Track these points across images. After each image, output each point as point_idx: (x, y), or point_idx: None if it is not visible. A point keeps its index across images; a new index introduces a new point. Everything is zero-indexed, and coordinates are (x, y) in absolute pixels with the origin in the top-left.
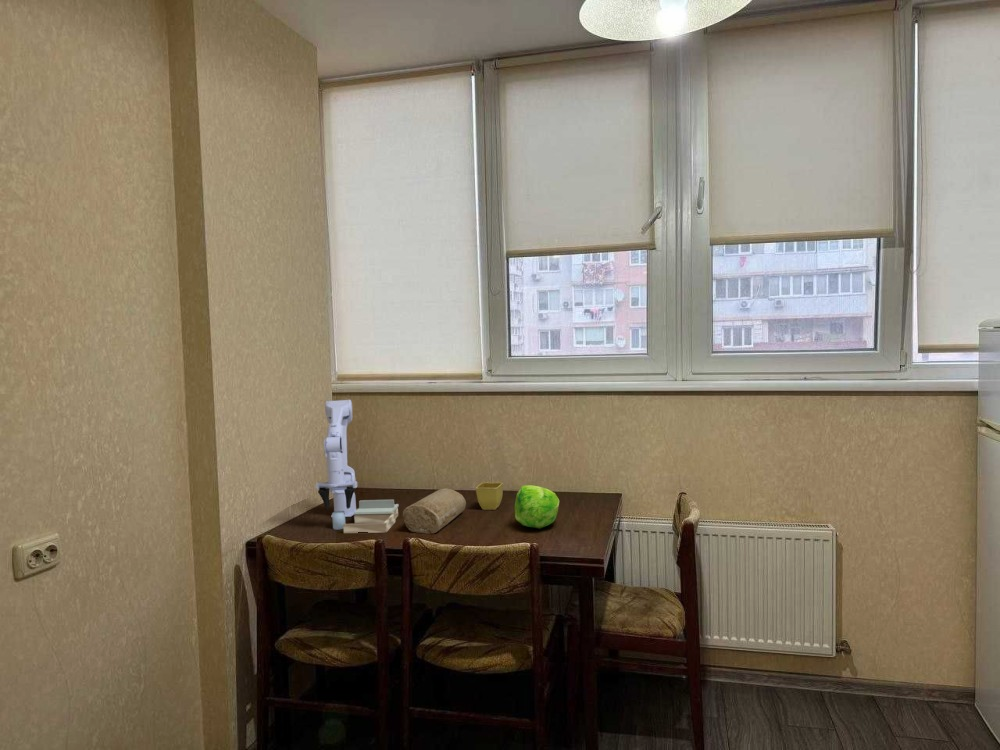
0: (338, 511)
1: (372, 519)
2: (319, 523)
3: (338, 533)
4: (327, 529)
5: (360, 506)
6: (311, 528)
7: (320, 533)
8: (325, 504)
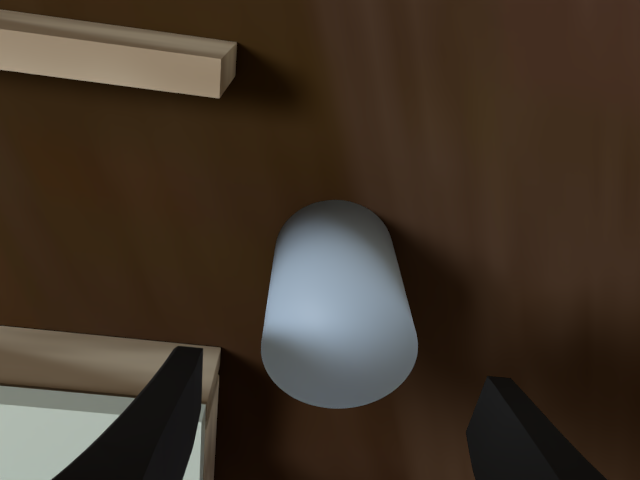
0: (348, 389)
1: (39, 350)
2: (530, 393)
3: (299, 52)
4: (443, 220)
5: None
6: (598, 278)
7: (503, 95)
8: (539, 422)
